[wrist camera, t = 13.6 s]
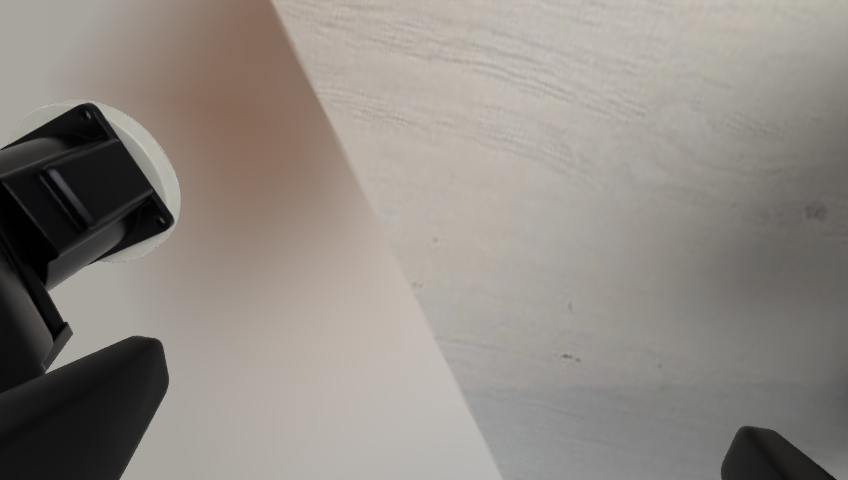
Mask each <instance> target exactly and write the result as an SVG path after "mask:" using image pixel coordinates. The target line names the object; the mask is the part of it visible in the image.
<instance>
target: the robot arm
mask: <svg viewBox="0 0 848 480" xmlns="http://www.w3.org/2000/svg"><path fill="white" fill-rule="evenodd" d="M86 111H87V112H88V113H89V114H90V116H91V119H90V118H89V117H88V116H87V114H86ZM160 218H162V219H163V220H164V222H165V223H163V222H162V221H161V220H160ZM173 225H174V217H173V215H172V214H171V212H170V211H169V209H168V208H167V207H166V205H165V204H164V202H163V201H162V199H161V198H160V196H159V195H158V194H157V192H156V191H155V189H154V188H153V186H152V185H151V183H150V182H149V180H148V179H147V178H146V176H145V175H144V173H143V172H142V170H141V169H140V167H139V166H138V164H137V163H136V162H135V160H134V159H133V157H132V156H131V154H130V153H129V151H128V150H127V148H126V147H125V146H124V144H123V143H122V141H121V140H120V138H119V137H118V135H117V134H116V132H115V131H114V130H113V128H112V127H111V125H110V124H109V122H108V121H107V119H106V118H105V116H104V115H103V114H102V112H101V111H100V109H99V108H98V107H97V106H96V105H94V104H93V103H84V104H80V105H77V106H76V107H74V108H72V109H70V110H69V111H67V112H65V113H63V114H62V115H60V116H58V117H56V118H54V119H53V120H51V121H49V122H47V123H46V124H44V125H42V126H40V127H39V128H37V129H35V130H33V131H32V132H30V133H28V134H26V135H25V136H23V137H21V138H19V139H18V140H16V141H14V142H12V143H11V144H9V145H7V146H5V147H4V148H2V149H0V480H119V479H120V478H121V476H122V474H123V472H124V471H125V469H126V467H127V465H128V463H129V462H130V460H131V458H132V456H133V454H134V452H135V450H136V448H137V447H138V445H139V443H140V441H141V439H142V437H143V435H144V433H145V431H146V430H147V428H148V426H149V424H150V422H151V420H152V418H153V416H154V415H155V412H156V411H157V409H158V407H159V405H160V403H161V401H162V400H163V398H164V395H165V394H166V391H167V388H168V384H169V375H168V370H167V365H166V360H165V354H164V349H163V346H162V343H161V342H160V341H159V340H158V339H156V338H149V337H143V336H132V337H129V338H127V339H124V340H122V341H120V342H117V343H115V344H113V345H111V346H109V347H106V348H104V349H101V350H99V351H97V352H95V353H92V354H90V355H88V356H85V357H83V358H81V359H78V360H76V361H74V362H72V363H69V364H67V365H65V366H62V367H60V368H58V369H56V370H53V371H51V372H49V373H47V374H45V372H46V371H47V369H48V368H49V367H50V365H51V364H52V362H53V361H54V360H55V358H56V357H57V355H58V354H59V352H60V351H61V350H62V349H63V347H64V346H65V344H66V343H67V341H68V340H69V339H70V337H71V336H72V335H73V332H72V330H71V328H70V326H69V324H68V323H67V322H64V321H63V319H62V317H61V316H60V314H59V312H58V310H57V308H56V306H55V304H54V303H53V301H52V299H51V297H50V295H49V294H48V291H49V290H51V289H53V288H54V287H55V286H57V285H58V284H60V283H61V282H63V281H64V280H65V279H67V278H69V277H70V276H71V275H73V274H75V273H76V272H77V271H79V270H80V269H81V268H83V267H85V266H87V265H89V264H92V263H94V262H96V261H99V260H101V259H103V258H105V257H108V256H110V255H112V254H115V253H117V252H119V251H121V250H124V249H126V248H128V247H130V246H133V245H135V244H137V243H140V242H142V241H144V240H146V239H149V238H151V237H153V236H156V235H158V234H160V233H162V232H165V231H167V230H168V229H169V228H171V227H172V226H173ZM721 479H722V480H836V479H835V478H834V477H833V476H831V475H830V474H829V473H828V472H826V471H825V470H824V469H823V468H821V467H820V466H819V465H818V464H816V463H815V462H814V461H813V460H811V459H810V458H809V457H807V456H806V455H805V454H804V453H802V452H801V451H800V450H799V449H797V448H796V447H795V446H794V445H792V444H791V443H790V442H789V441H787V440H786V439H785V438H784V437H782V436H781V435H780V434H778V433H777V432H776V431H774V430H771V429H766V428H759V427H753V426H743V427H741V428H740V429H739V430H738V432H737V433H736V435H735V437H734V440H733V442H732V444H731V446H730V448H729V450H728V452H727V454H726V456H725V459H724V461H723V463H722V467H721Z"/></svg>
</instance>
